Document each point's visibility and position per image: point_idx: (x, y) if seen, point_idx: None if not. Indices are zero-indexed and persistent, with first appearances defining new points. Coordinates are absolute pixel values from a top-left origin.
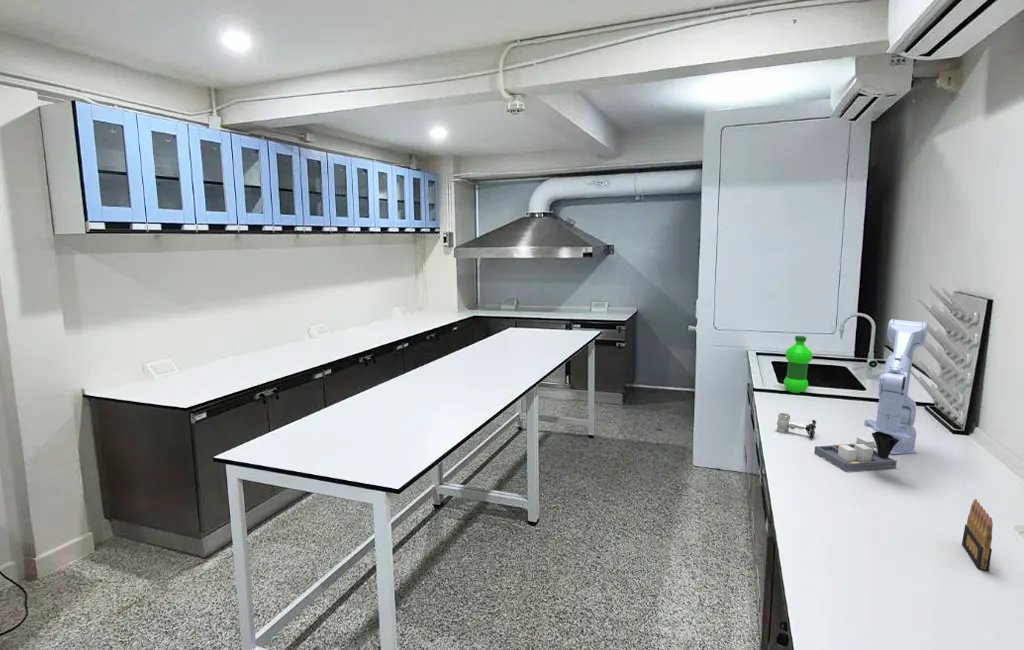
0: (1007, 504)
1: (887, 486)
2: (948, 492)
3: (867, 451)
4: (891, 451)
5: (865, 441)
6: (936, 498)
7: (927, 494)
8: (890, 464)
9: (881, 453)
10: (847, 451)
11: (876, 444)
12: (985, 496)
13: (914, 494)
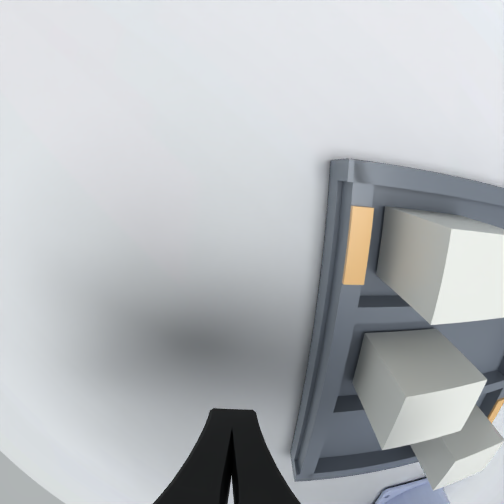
0: (30, 472)
1: (97, 256)
2: (65, 436)
3: (389, 407)
4: (394, 495)
5: (462, 457)
6: (11, 360)
7: (35, 362)
8: (300, 450)
9: (208, 437)
10: (451, 226)
11: (286, 497)
12: (62, 479)
13: (27, 311)
